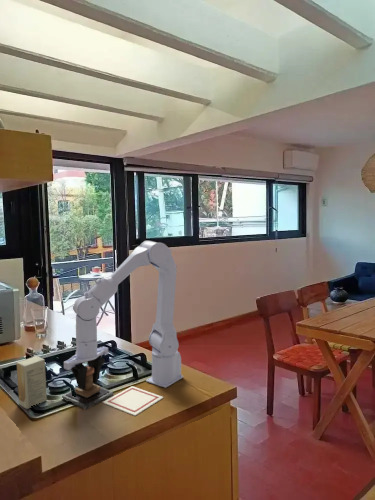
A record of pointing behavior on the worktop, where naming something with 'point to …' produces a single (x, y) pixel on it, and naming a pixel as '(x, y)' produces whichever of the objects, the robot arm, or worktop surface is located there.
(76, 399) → the ink pad
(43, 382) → the skincare box
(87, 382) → the stamp
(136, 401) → the marked sheet
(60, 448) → the worktop surface
